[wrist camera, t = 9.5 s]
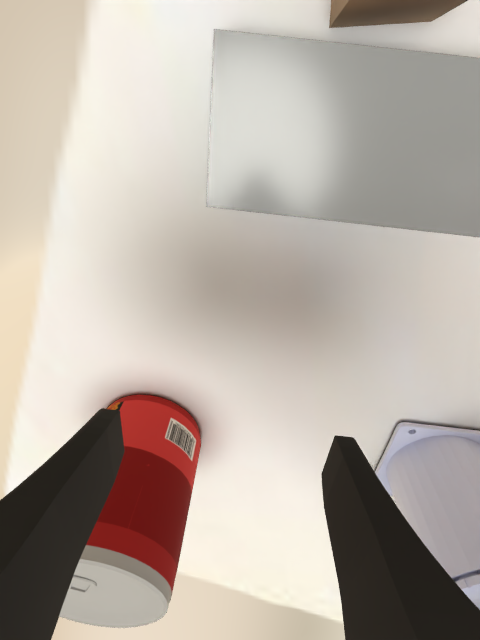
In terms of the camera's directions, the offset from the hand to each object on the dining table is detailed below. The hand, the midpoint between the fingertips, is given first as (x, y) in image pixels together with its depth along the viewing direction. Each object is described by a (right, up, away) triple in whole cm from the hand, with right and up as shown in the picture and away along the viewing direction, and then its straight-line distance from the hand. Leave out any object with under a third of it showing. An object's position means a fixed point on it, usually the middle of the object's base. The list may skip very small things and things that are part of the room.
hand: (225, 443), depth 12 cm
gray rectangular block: (+5, +12, +4) cm, 14 cm away
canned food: (-6, -4, +15) cm, 17 cm away
